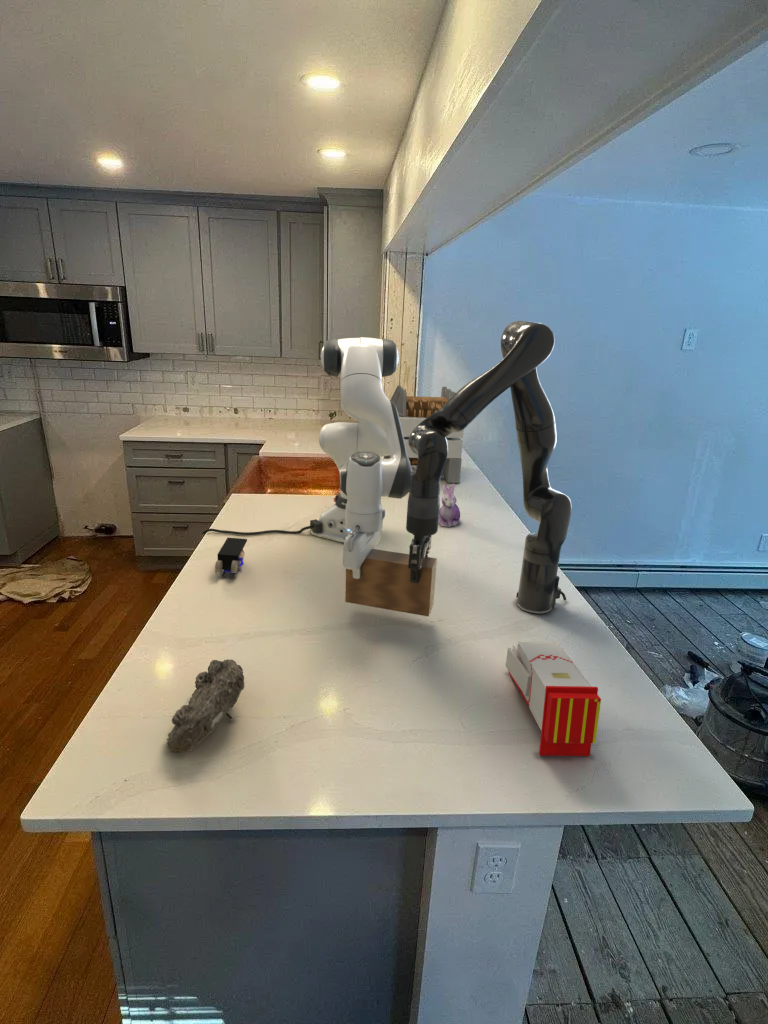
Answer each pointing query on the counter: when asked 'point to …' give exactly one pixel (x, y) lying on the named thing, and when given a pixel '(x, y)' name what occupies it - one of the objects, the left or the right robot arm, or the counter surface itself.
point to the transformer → (417, 411)
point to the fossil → (206, 705)
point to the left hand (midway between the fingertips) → (361, 570)
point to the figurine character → (230, 556)
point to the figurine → (449, 508)
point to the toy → (556, 697)
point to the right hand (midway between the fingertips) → (418, 574)
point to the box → (392, 583)
